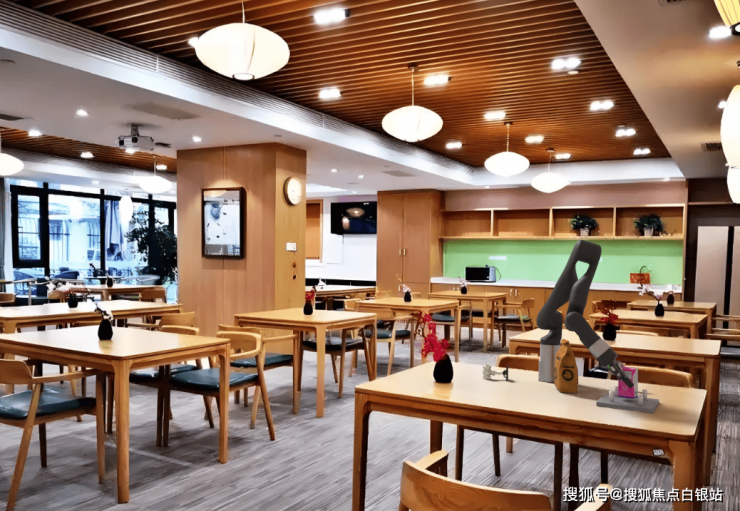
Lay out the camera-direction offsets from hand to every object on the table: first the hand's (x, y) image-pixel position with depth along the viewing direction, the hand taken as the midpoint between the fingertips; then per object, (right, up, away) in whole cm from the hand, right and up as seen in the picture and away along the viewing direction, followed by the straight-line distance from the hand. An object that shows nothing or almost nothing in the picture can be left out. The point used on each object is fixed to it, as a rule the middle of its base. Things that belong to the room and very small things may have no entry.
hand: (633, 385), depth 234 cm
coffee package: (-18, -8, +25) cm, 32 cm away
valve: (-44, -8, +49) cm, 66 cm away
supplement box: (-2, -5, +1) cm, 6 cm away
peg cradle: (-2, -8, +1) cm, 8 cm away
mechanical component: (+7, -9, +31) cm, 33 cm away
